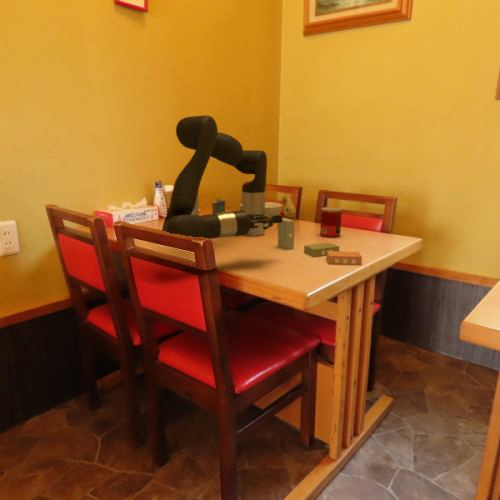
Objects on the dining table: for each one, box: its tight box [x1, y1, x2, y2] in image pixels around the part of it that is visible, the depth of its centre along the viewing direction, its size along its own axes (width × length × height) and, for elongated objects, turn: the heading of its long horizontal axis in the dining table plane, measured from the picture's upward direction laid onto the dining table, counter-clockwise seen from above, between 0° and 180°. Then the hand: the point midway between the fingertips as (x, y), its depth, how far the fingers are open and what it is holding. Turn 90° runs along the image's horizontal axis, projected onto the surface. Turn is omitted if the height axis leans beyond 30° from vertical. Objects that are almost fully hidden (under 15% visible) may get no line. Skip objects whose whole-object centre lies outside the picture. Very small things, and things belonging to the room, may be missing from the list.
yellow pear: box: [276, 193, 297, 227], centre depth 177 cm, size 7×11×15 cm, turn 30°
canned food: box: [319, 206, 343, 239], centre depth 164 cm, size 8×8×11 cm
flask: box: [212, 197, 226, 214], centre depth 198 cm, size 9×3×11 cm, turn 151°
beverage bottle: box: [191, 195, 200, 216], centre depth 195 cm, size 8×8×20 cm
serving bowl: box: [239, 201, 283, 216], centre depth 203 cm, size 21×21×7 cm
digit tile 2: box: [303, 242, 340, 258], centre depth 139 cm, size 3×6×10 cm
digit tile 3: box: [326, 250, 363, 266], centre depth 129 cm, size 3×6×10 cm
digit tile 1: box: [277, 218, 296, 251], centre depth 146 cm, size 3×6×10 cm, turn 27°
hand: (280, 218), depth 129 cm, fingers closed
